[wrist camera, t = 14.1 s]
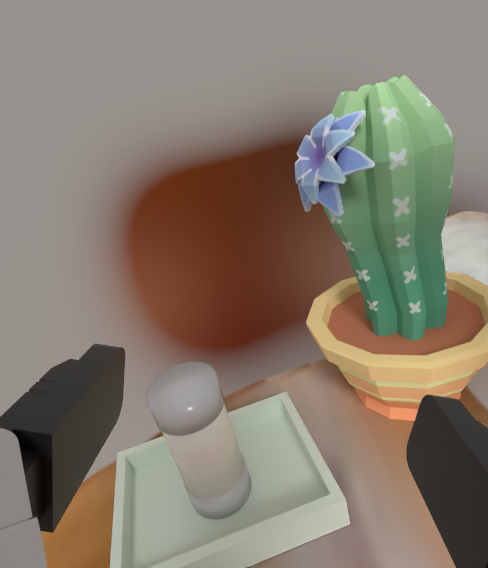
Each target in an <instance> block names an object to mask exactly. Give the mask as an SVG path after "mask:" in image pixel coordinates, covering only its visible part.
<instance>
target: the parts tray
mask: <svg viewBox="0 0 488 568" xmlns="http://www.w3.org/2000/svg"><path fill="white" fill-rule="evenodd" d="M228 416H229V419H230V422H231V425H232V428H233V431H234V434H235V437H236V440H237V443H238V446H239V449H240V452H241V453H242V455H243V457H244V460H245V463H246V466H247V469H248V472H249V475H250V478H251V484H252V486H251V492H250V495H249V497H248V499H247V501H246V503H245V504H244V505H243V506H242V507H241V508H240V509H239V510H238V511H237V512H236V513H234V514H232V515H231V516H228V517H226V518H223V519H215V520H214V519H207V518H204V517H202V516H201V515H199V514H198V513H197V512H196V511H195V509H194V507H193V505H192V503H191V501H190V498H189V496H188V494H187V492H186V489H185V487H184V482H183V479H182V476H181V474H180V472H179V470H178V467H177V465H176V463H175V460H174V458H173V456H172V454H171V451H170V449H169V447H168V444H167V442H166V440H165V438H164V436H162V437H159V438H156V439H153V440H151V441H148V442H145V443H142V444H140V445H137V446H134V447H131V448H129V449H126V450H123V451H120V452H118V453H117V467H116V482H115V497H114V512H113V527H112V542H111V557H110V568H247V567H250V566H252V565H254V564H257V563H259V562H261V561H264V560H266V559H269V558H271V557H273V556H276V555H278V554H281V553H283V552H285V551H288V550H290V549H292V548H295V547H297V546H300V545H302V544H304V543H307V542H309V541H311V540H314V539H316V538H319V537H321V536H323V535H326V534H328V533H331V532H333V531H335V530H338V529H340V528H342V527H345V526H347V525H350V520H349V514H348V509H347V503H346V499H345V497H344V495H343V493H342V491H341V490H340V488H339V486H338V484H337V482H336V481H335V479H334V477H333V475H332V473H331V471H330V470H329V468H328V466H327V464H326V462H325V461H324V459H323V457H322V455H321V453H320V452H319V450H318V448H317V446H316V444H315V442H314V441H313V439H312V437H311V435H310V433H309V432H308V430H307V428H306V426H305V424H304V423H303V421H302V419H301V417H300V415H299V414H298V412H297V410H296V408H295V406H294V404H293V403H292V401H291V399H290V397H289V395H288V394H287V392H283V393H280V394H277V395H275V396H272V397H269V398H266V399H264V400H261V401H258V402H255V403H253V404H250V405H247V406H244V407H242V408H239V409H236V410H233V411H231V412H228Z"/></svg>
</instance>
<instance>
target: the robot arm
mask: <svg viewBox="0 0 488 568" xmlns="http://www.w3.org/2000/svg"><path fill="white" fill-rule="evenodd" d="M124 367H125V351H124V348H121V347H114V346H108V345H107V346H106V345H101V344H94V345H93V346H92V347H91V348H90V349H89V350H88V351H87V352H86V353H85V354H84V355H83V356H82V357H81V358H80V359H79V360H74V359H69V360H67V361H65V362H63V363H61V364H59V365H57V366H55V367H53V368H51V369H50V370H49V371H48V372H47V373H46V374H45V375H44V376H43V377H42V378H41V379H40V381H39V382H36V384H34V385H33V386H32V387H31V388H30V389H29V392H26V393H25V394H24V395H23V396H22V397H21V398H20V399H19V400H18V401H17V402H16V403H14V404H13V405H12V406H11V407H10V408H9V409H8V410H7V411H6V412H5V413H4V414H3V415H2V416H1V417H0V568H48V567H47V562H46V557H45V552H44V547H43V542H42V537H41V532H40V531H46V532H52V533H53V532H54V530H55V528H56V526H57V525H58V523H59V521H60V520H61V518H62V516H63V514H64V513H65V511H66V509H67V507H68V506H69V504H70V502H71V500H72V499H73V497H74V495H75V494H76V492H77V490H78V488H79V487H80V485H81V483H82V481H83V480H84V478H85V476H86V474H87V473H88V471H89V469H90V467H91V466H92V464H93V462H94V460H95V459H96V457H97V455H98V454H99V452H100V450H101V448H102V447H103V445H104V443H105V442H106V440H107V438H108V436H109V435H110V433H111V431H112V429H113V428H114V426H115V424H116V422H117V420H118V417H119V415H120V411H121V407H122V402H123V387H124ZM407 462H408V466H409V469H410V471H411V473H412V475H413V478H414V480H415V482H416V484H417V486H418V488H419V490H420V492H421V494H422V497H423V499H424V501H425V503H426V505H427V507H428V509H429V511H430V513H431V516H432V518H433V520H434V522H435V524H436V526H437V528H438V530H439V532H440V534H441V537H442V539H443V541H444V543H445V545H446V547H447V549H448V551H449V553H450V556H451V558H452V560H453V562H454V564H455V566H456V568H488V428H486V427H485V426H484V425H482V424H481V423H480V422H478V421H476V420H475V419H474V417H473V416H472V415H471V414H470V412H469V411H468V410H467V409H466V408H465V406H464V405H463V404H462V403H461V402H460V401H459V400H458V399H455V398H448V397H442V396H435V395H425V396H424V397H423V398H422V400H421V403H420V406H419V409H418V412H417V415H416V418H415V421H414V425H413V428H412V431H411V434H410V437H409V440H408V444H407Z"/></svg>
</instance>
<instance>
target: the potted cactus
mask: <svg viewBox="0 0 488 568" xmlns="http://www.w3.org/2000/svg"><path fill="white" fill-rule="evenodd" d="M454 140H455V139H454V136H453V135H452V133H451V131H450V129H449V127H448V125H447V123H446V121H445V119H444V117H443V116H442V114H441V112H440V111H439V110H438V109H437V108H436V107H435V106H434V105H433V104H432V103H431V102H430V101H429V99H427V97H426V96H425V95H424V94H423V93H422V92H421V91H420V90H419V89H418V88H417V87H416V86H415V85H414V84H413V83H412V82H411V80H410V79H409V78H408V77H407V76H406V75H404V76H403V77H401V78H400V79H399V78H398V77H393V78H391V79H390V80H389V81H388V82H386V83H385V82H381V83H377V84H375V85H374V86H372V85H368V84H367V85H364V86H361V87H360V89H359V90H358V91H357V92H352V91H347V92H341V93H340V95H339V97H338V100H337V102H336V105H335V107H334V109H333V112H332V114H330V115H328V116H327V117H325V118H324V119H322V120H321V121H320V122H319V123H318V124H317V125H316V126H315V127H314V128H313V129H312V131H311V135H310V136H308V135H306V136H305V137H304V139H303V141H302V143H301V145H300V147H299V150H298V152H297V155H298V157H299V159H298V160H297V161H296V163H295V175H296V183H299V190H300V194H301V199H302V202H303V205H304V209H305V211H306V212H307V211H309V210H310V209H311V204H312V203H313V204H316V203H318V201H319V202H320V203H321V204H323V206H324V210H325V213H326V214H327V216H328V218H329V219H330V221H331V223H332V226H333V228H334V229H335V231H336V233H337V234H338V236H339V237H340V239H341V241H342V242H343V244H344V246H345V248H346V250H347V253H348V256H349V259H350V262H351V264H352V267H353V270H354V273H355V276H356V277H352V278H349V279H345V280H342V281H340V282H339V283H337V284H335V285H334V286H333V287H331V288H330V289H328V290H327V291H325V292H324V293H323V294H321V295H320V296H318V297H317V298H315V299H314V302H313V304H312V307H311V310H310V312H309V315H308V318H307V321H306V324H307V326H308V328H309V330H310V333H311V335H312V337H313V338H314V339H315V341H316V343H317V344H318V346H319V347H320V349H321V351H322V352H323V354H324V355H325V357H326V358H327V360H328V361H329V362H331V363H333V364H336V365H337V366H338V368H339V369H340V371H341V372H342V374H343V375H344V377H345V378H346V380H347V381H348V383H349V384H351V385H352V386H353V387H354V390H355V392H356V393H357V395H358V396H359V398H360V399H361V401H362V402H363V404H364V405H365V407H367V408H369V409H371V410H373V411H375V412H377V413H379V414H381V415H383V416H385V417H387V418H389V419H397V420H408V421H415V418H416V415H417V412H418V409H419V406H420V403H421V400H422V398H423V397H424V396H425V395H435V396H442V397H448V398H455V399H458V400H459V399H460V397H461V391H462V390H463V389H464V388H465V386H466V385H467V384H468V383H469V381H470V380H471V379H472V378H473V377H474V375H475V374H476V373H477V372H478V370H479V369H480V368H482V367H484V366H485V365H486V364H487V363H488V286H487V285H485V284H483V283H481V282H480V281H478V280H476V279H474V278H472V277H470V276H468V275H465V274H459V273H453V272H447V271H445V265H444V257H443V248H442V239H441V233H442V229H443V226H444V222H445V219H446V215H447V211H448V208H449V205H450V201H451V197H452V179H453V158H454Z"/></svg>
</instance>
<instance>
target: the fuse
mask: <svg viewBox="0 0 488 568" xmlns="http://www.w3.org/2000/svg"><path fill="white" fill-rule="evenodd" d="M146 400H147V403H148V405H149V407H150V410H151V412H152V414H153V417H154V419H155V421H156V423H157V426H158V427H159V429H160V430H161V431H162V433H163V435H164V438H165V440H166V442H167V444H168V447H169V449H170V451H171V454H172V456H173V458H174V460H175V463H176V465H177V467H178V470H179V472H180V474H181V476H182V479H183V482H184V487H185V489H186V492H187V494H188V496H189V498H190V501H191V503H192V505H193V507H194V509H195V511H196V512H197V513H198V514H199V515H201V516H202V517H204V518H207V519H214V520H215V519H223V518H226V517H228V516H231V515H232V514H234V513H236V512H237V511H238V510H239V509H240V508H241V507H242V506H243V505H244V504H245V503H246V501H247V499H248V497H249V495H250V492H251V486H252V484H251V478H250V475H249V472H248V469H247V466H246V463H245V460H244V457H243V455H242V453H241V452H240V449H239V446H238V443H237V440H236V437H235V434H234V431H233V428H232V425H231V422H230V419H229V416H228V413H227V410H226V407H225V404H224V396H223V393H222V390H221V387H220V384H219V381H218V378H217V375H216V372H215V370H214V368H213V367H212V366H210V365H209V364H206V363H203V362H187V363H182V364H179V365H176V366H174V367H172V368H169V369H168V370H166V371H164V372H163V373H162V374H160V375H159V376H158V377H156V378H155V379H154V380H153V382H152V383H151V384H150V386H149V388H148V390H147V393H146Z"/></svg>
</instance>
